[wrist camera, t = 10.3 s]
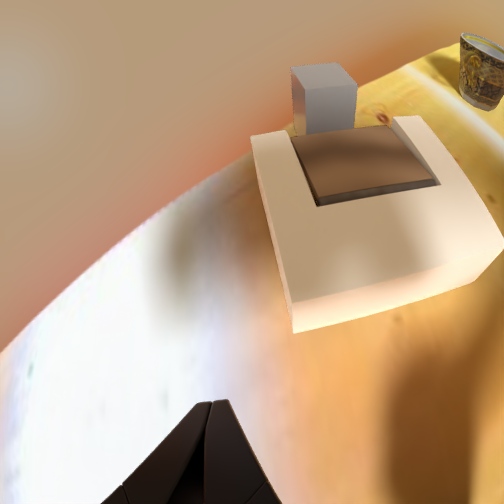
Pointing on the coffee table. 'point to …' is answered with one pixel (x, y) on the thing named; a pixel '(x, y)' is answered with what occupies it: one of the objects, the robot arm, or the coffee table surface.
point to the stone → (322, 98)
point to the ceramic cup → (481, 71)
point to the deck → (372, 234)
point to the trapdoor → (358, 164)
